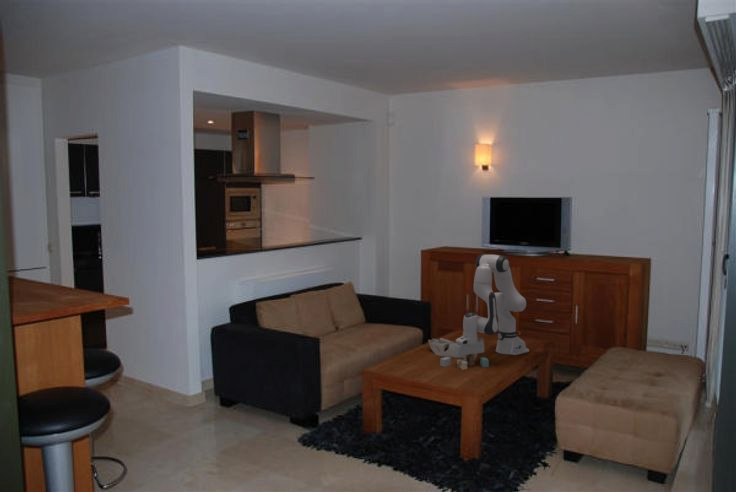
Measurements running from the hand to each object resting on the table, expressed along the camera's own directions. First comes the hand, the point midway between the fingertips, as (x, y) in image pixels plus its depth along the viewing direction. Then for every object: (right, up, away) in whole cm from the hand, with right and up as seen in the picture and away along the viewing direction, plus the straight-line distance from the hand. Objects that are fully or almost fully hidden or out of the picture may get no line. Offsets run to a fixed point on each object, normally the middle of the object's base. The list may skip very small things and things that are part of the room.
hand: (469, 361), depth 379 cm
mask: (-10, 0, +26) cm, 27 cm away
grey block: (-15, -2, -3) cm, 16 cm away
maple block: (-6, -3, -8) cm, 10 cm away
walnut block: (0, -2, 0) cm, 2 cm away
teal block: (+8, -2, -3) cm, 9 cm away
